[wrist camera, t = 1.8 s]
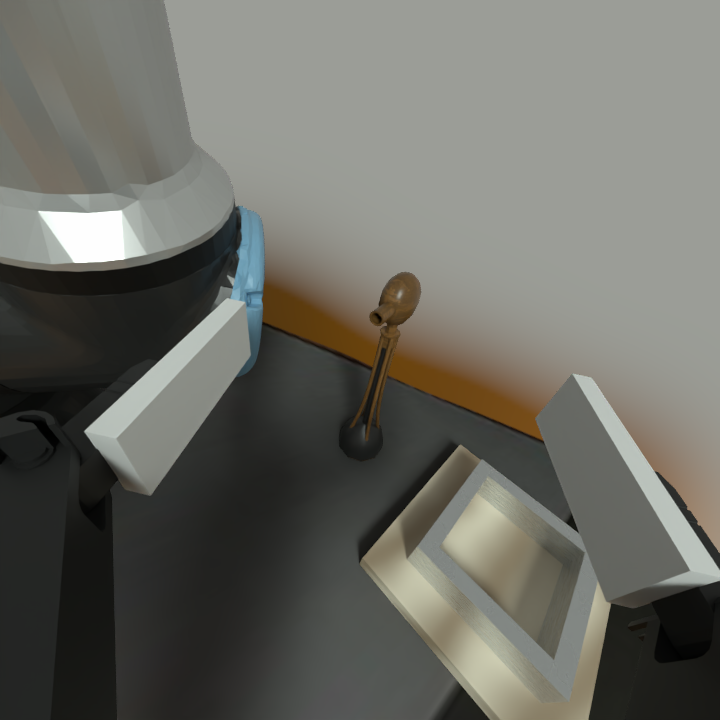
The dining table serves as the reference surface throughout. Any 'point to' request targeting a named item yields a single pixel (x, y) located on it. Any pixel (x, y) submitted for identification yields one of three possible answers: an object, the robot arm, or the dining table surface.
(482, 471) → the collar
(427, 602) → the stand
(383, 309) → the wooden tabletop sculpture
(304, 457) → the dining table surface
